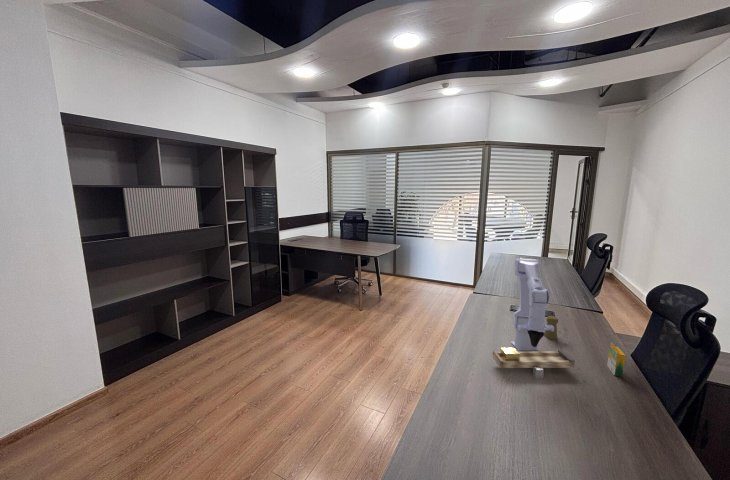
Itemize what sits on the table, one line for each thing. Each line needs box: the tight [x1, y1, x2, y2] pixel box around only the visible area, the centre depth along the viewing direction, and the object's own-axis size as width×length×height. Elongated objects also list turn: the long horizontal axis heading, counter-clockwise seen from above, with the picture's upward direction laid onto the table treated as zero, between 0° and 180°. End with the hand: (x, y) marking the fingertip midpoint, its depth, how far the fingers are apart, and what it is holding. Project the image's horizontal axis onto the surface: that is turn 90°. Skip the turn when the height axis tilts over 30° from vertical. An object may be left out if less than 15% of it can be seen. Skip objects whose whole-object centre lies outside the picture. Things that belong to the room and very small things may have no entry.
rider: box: [499, 347, 520, 361], centre depth 127 cm, size 6×5×4 cm
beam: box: [491, 349, 576, 369], centre depth 127 cm, size 31×9×4 cm, turn 89°
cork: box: [543, 315, 559, 340], centre depth 154 cm, size 6×6×11 cm
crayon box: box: [606, 341, 627, 378], centre depth 124 cm, size 7×3×12 cm, turn 160°
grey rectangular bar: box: [532, 367, 545, 379], centre depth 127 cm, size 3×14×4 cm, turn 179°
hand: (533, 345), depth 127 cm, fingers closed
